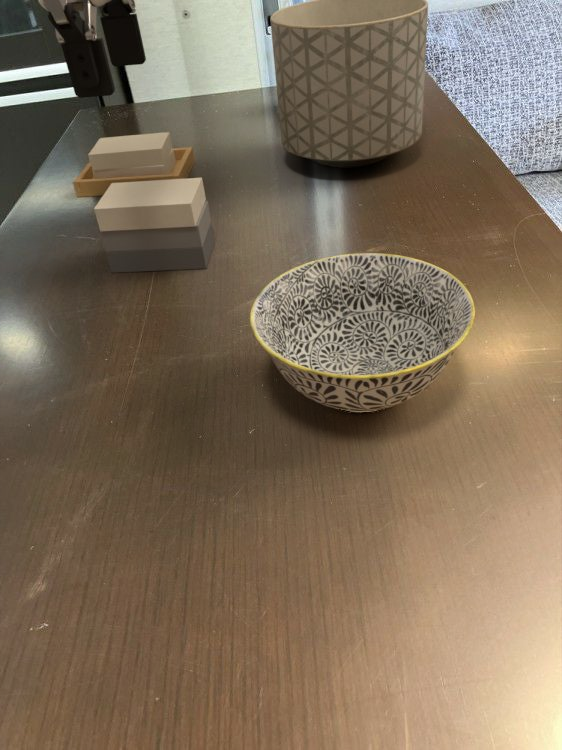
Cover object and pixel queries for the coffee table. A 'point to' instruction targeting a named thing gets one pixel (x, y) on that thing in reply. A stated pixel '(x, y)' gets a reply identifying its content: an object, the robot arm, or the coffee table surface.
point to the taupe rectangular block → (132, 156)
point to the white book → (151, 204)
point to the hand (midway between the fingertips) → (113, 78)
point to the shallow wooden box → (97, 187)
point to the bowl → (362, 327)
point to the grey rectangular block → (161, 247)
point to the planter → (350, 78)
